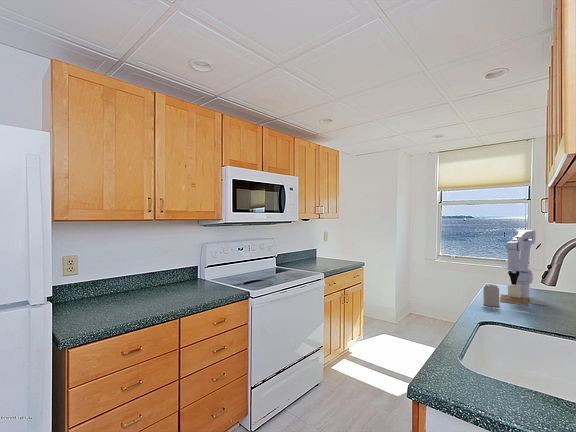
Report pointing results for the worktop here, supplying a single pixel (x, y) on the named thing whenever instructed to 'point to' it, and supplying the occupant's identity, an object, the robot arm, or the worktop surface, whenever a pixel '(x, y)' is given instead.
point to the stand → (537, 301)
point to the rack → (514, 300)
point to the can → (491, 295)
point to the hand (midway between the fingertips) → (513, 283)
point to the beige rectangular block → (514, 290)
